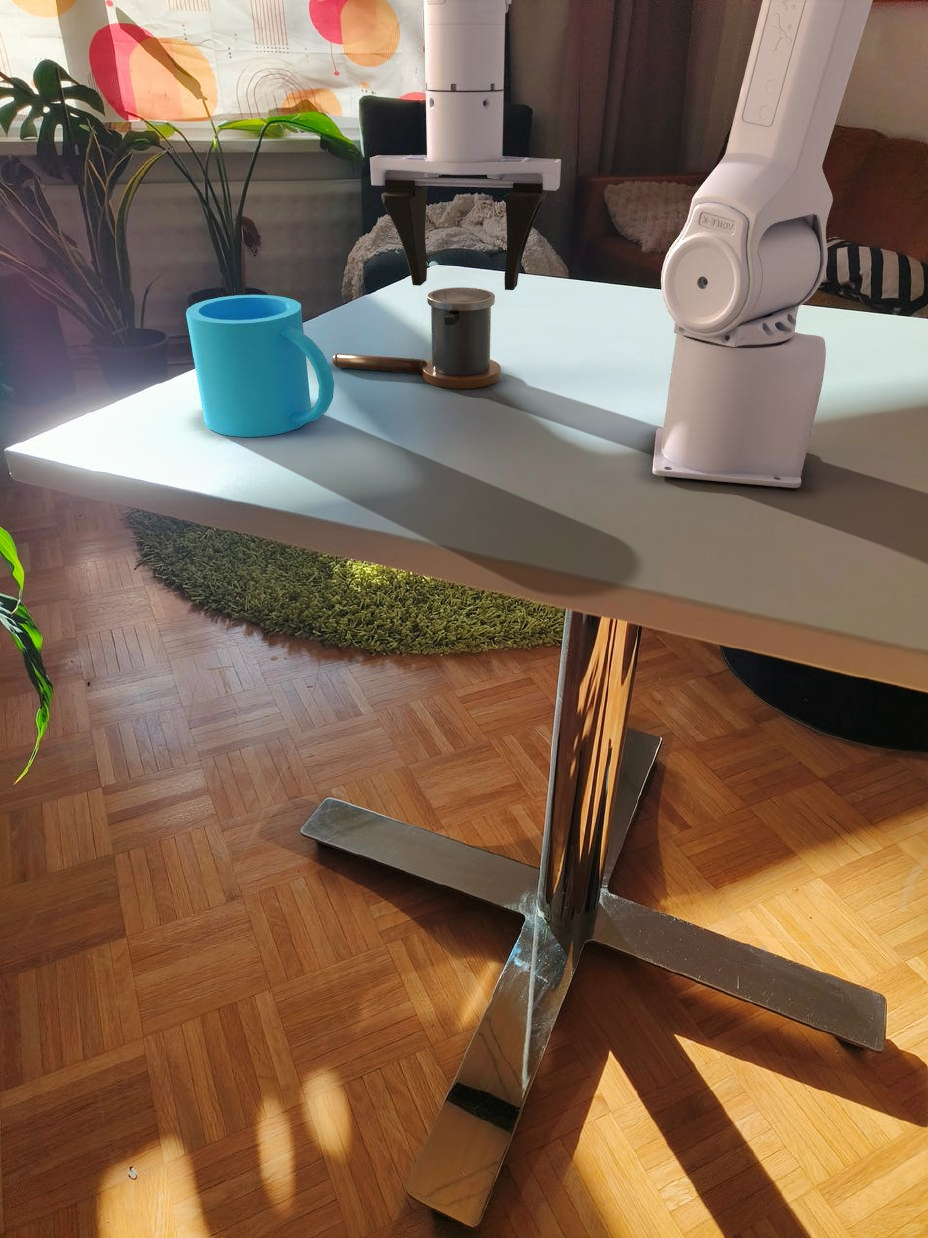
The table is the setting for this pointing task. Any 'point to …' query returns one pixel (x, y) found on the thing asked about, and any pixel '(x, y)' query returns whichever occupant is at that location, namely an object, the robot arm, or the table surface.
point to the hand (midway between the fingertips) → (464, 285)
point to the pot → (461, 330)
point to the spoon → (418, 370)
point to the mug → (255, 365)
